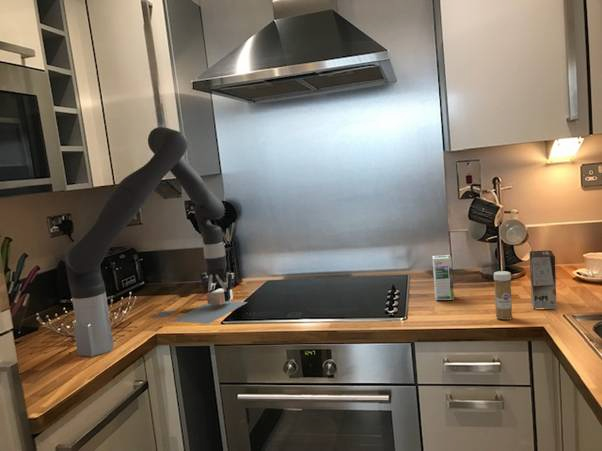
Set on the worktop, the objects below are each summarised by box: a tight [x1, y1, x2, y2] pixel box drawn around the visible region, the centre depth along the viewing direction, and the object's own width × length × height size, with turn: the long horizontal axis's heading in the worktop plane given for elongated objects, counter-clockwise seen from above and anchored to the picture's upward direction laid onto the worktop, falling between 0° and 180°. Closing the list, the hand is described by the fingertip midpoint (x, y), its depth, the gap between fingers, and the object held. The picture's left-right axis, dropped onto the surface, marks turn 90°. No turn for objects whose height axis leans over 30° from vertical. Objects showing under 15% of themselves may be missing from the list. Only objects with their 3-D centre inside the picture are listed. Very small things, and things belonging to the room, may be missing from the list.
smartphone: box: [151, 310, 177, 319], centre depth 178 cm, size 7×1×15 cm
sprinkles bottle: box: [493, 270, 513, 320], centre depth 145 cm, size 5×5×14 cm
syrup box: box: [431, 254, 455, 301], centre depth 169 cm, size 6×6×14 cm
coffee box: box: [528, 250, 557, 310], centre depth 152 cm, size 9×6×16 cm
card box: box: [206, 287, 234, 305], centre depth 184 cm, size 8×6×4 cm
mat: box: [171, 300, 248, 325], centre depth 180 cm, size 24×16×1 cm, turn 154°
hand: (220, 300), depth 185 cm, fingers closed on card box, 5 cm apart
